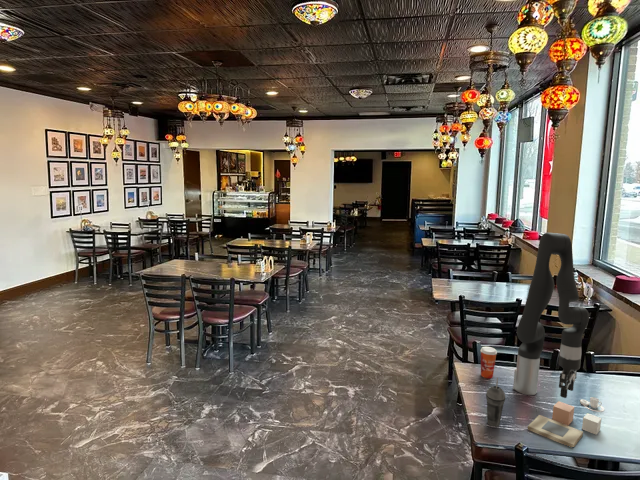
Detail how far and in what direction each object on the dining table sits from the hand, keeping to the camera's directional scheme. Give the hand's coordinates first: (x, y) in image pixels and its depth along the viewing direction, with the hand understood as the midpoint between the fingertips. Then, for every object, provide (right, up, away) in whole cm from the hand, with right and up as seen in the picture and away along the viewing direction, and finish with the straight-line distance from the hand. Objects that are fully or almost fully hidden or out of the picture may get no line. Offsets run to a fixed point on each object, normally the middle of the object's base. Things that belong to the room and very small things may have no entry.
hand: (566, 393), depth 174 cm
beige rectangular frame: (-9, -13, -7) cm, 17 cm away
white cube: (+7, -13, -5) cm, 15 cm away
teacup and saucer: (+19, -11, +16) cm, 27 cm away
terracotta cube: (-1, -12, +2) cm, 12 cm away
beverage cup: (-30, -12, -2) cm, 33 cm away
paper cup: (-17, -6, +40) cm, 44 cm away
